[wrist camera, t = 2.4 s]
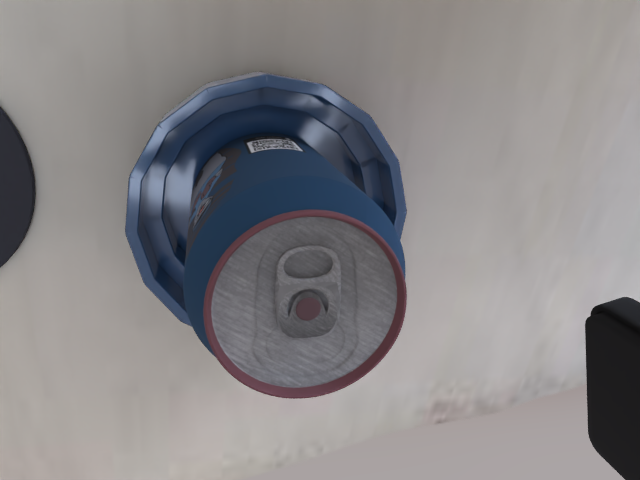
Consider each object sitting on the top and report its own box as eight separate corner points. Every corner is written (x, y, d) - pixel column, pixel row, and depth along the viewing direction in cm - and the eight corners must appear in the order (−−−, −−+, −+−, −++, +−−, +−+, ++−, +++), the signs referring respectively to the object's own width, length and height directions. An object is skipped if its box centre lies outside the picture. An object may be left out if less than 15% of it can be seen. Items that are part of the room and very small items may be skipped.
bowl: (354, 47, 24) (381, 46, 21) (393, 271, 29) (421, 303, 25) (101, 107, 23) (81, 116, 19) (182, 332, 27) (178, 375, 24)
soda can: (331, 262, 27) (417, 403, 16) (195, 270, 26) (188, 430, 15) (335, 128, 25) (438, 185, 14) (186, 129, 24) (170, 193, 13)
